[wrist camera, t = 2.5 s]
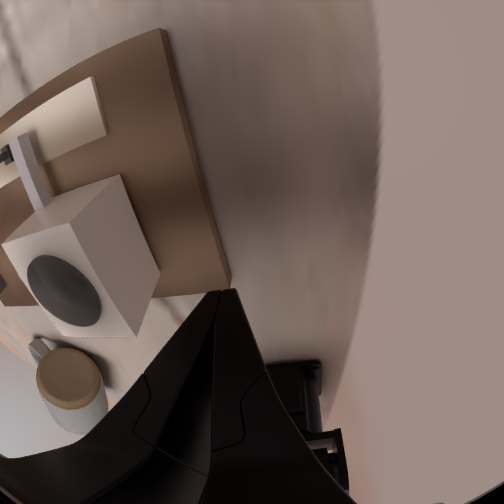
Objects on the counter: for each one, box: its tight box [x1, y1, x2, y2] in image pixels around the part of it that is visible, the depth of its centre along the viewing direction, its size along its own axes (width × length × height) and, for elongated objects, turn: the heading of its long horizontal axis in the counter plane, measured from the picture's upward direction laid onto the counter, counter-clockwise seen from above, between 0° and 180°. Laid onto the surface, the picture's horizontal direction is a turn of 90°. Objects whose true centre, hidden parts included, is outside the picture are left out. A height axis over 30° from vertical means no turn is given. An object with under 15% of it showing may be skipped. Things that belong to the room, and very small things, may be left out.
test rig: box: [0, 28, 231, 306], centre depth 12 cm, size 14×23×7 cm, turn 100°
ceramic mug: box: [29, 338, 108, 435], centre depth 22 cm, size 11×8×8 cm
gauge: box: [1, 133, 160, 338], centre depth 11 cm, size 10×8×5 cm
